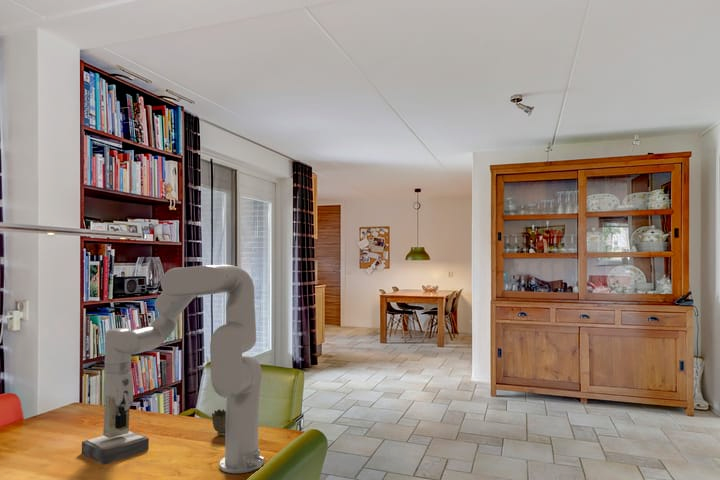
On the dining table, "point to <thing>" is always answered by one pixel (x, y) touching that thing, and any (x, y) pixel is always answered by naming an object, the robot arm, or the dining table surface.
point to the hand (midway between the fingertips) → (116, 425)
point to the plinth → (114, 447)
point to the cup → (219, 422)
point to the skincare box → (113, 419)
